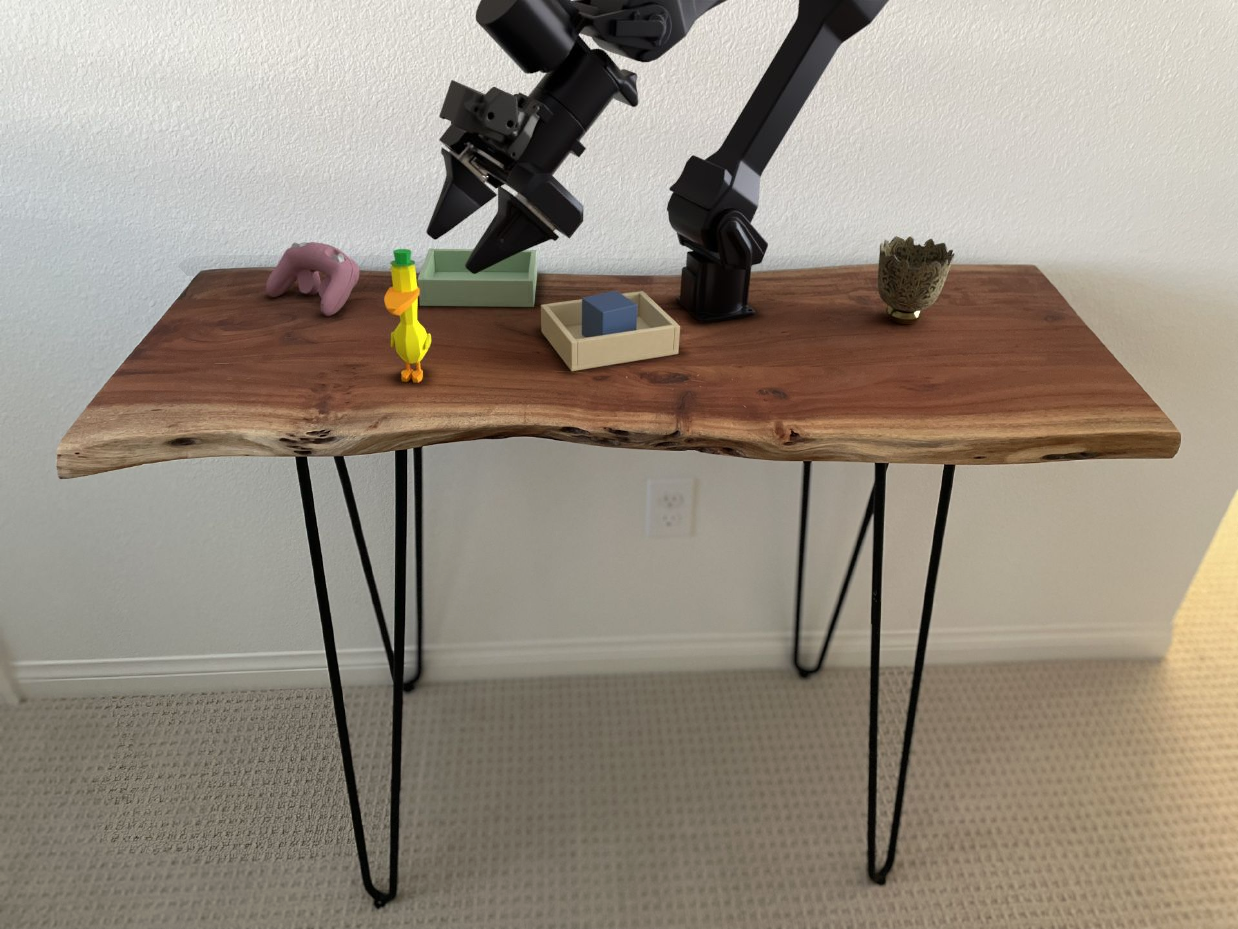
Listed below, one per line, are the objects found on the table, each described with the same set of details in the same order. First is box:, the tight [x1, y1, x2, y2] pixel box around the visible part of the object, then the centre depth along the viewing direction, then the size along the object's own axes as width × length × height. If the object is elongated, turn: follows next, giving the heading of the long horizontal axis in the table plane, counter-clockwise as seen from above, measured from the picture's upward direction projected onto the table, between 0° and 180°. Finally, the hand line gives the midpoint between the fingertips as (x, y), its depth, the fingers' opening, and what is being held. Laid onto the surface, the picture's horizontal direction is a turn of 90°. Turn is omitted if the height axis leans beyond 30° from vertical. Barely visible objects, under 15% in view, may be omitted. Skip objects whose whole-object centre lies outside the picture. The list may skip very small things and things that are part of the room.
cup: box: [877, 235, 955, 325], centre depth 98 cm, size 8×7×8 cm
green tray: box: [416, 248, 538, 308], centre depth 103 cm, size 12×9×3 cm
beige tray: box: [540, 290, 681, 372], centre depth 93 cm, size 11×9×3 cm
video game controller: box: [265, 241, 360, 317], centre depth 99 cm, size 10×5×7 cm, turn 58°
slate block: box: [581, 290, 637, 338], centre depth 92 cm, size 4×4×4 cm
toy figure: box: [383, 248, 432, 384], centre depth 83 cm, size 7×4×12 cm, turn 175°
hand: (449, 252), depth 82 cm, fingers open, 9 cm apart
